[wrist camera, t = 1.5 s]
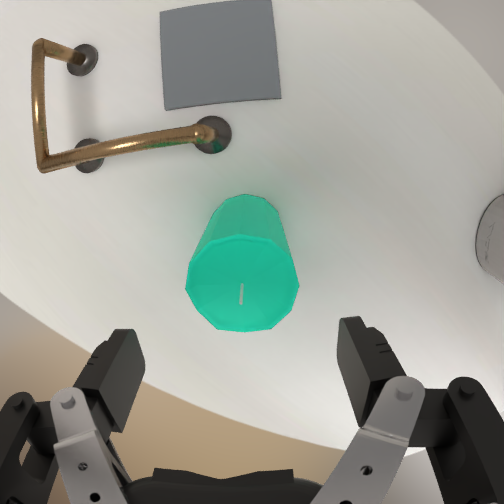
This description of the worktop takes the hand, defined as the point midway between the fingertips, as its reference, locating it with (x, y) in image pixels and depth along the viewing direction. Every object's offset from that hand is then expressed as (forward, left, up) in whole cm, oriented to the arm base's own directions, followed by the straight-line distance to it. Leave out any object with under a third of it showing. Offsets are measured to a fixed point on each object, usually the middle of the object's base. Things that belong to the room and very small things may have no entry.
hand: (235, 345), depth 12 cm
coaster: (+1, -15, -15) cm, 21 cm away
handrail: (+7, -12, -15) cm, 21 cm away
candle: (0, 0, -16) cm, 16 cm away
